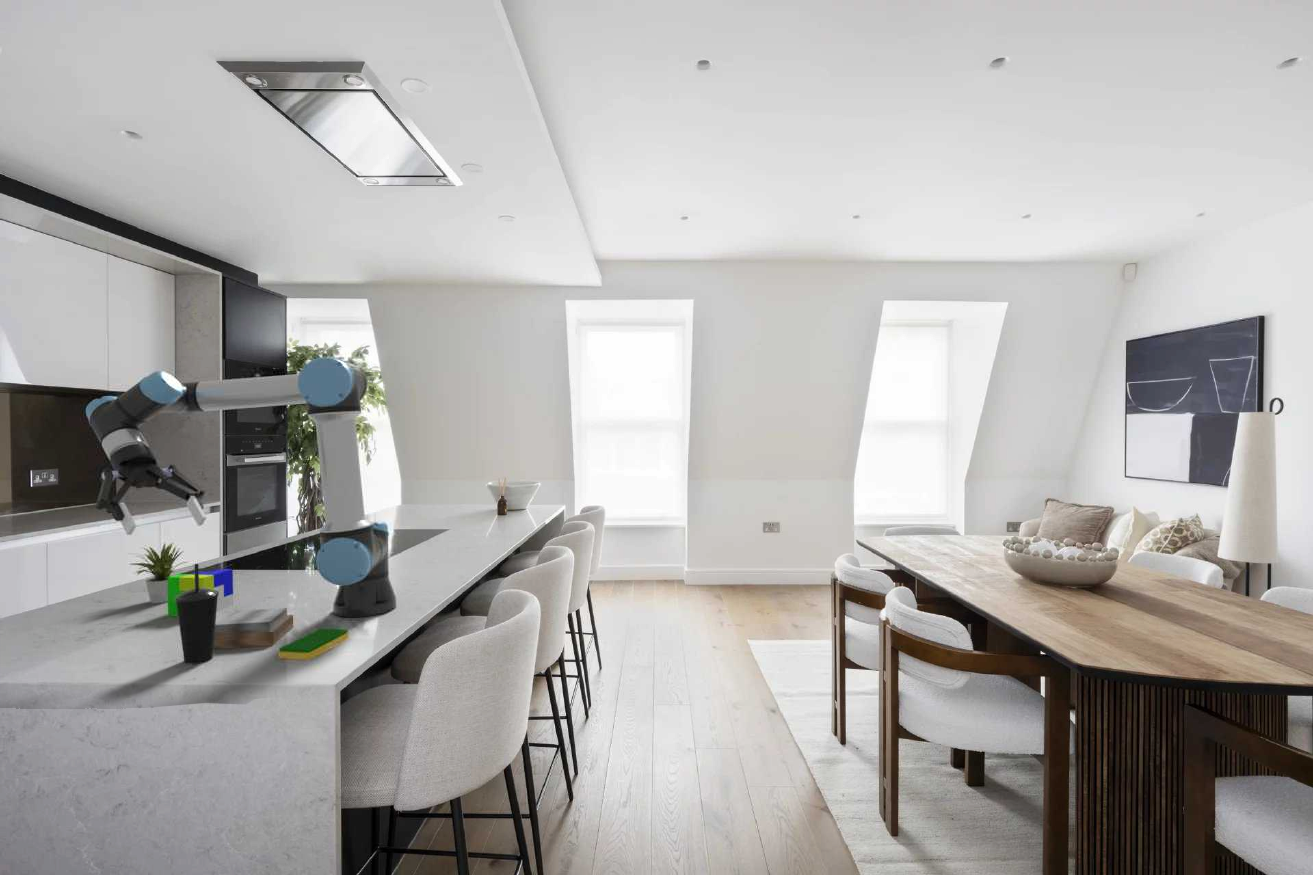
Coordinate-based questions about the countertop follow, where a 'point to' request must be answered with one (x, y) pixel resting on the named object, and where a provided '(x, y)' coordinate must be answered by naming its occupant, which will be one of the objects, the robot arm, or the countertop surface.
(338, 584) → the robot arm
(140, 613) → the countertop surface
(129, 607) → the countertop surface
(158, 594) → the house plant
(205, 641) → the drinking cup
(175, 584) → the puzzle toy
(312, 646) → the dish sponge
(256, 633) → the two-layer plinth
